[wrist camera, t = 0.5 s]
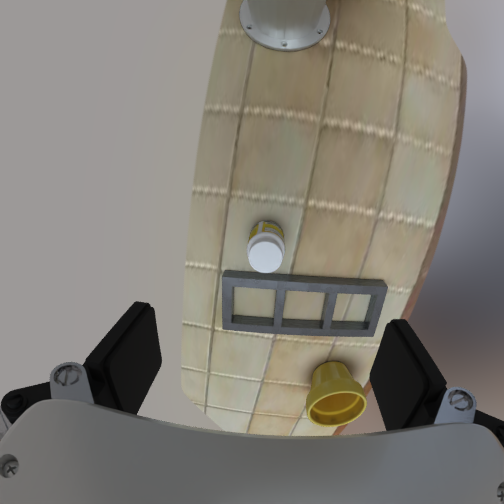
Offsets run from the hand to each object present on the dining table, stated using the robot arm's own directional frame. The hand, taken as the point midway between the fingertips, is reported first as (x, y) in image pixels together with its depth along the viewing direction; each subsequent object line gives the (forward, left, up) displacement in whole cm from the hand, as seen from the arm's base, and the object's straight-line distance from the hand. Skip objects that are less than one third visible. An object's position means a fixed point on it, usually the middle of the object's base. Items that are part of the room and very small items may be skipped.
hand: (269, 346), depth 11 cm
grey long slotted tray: (+16, +6, -31) cm, 35 cm away
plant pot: (+31, +13, -31) cm, 46 cm away
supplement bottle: (+5, -1, -31) cm, 31 cm away
